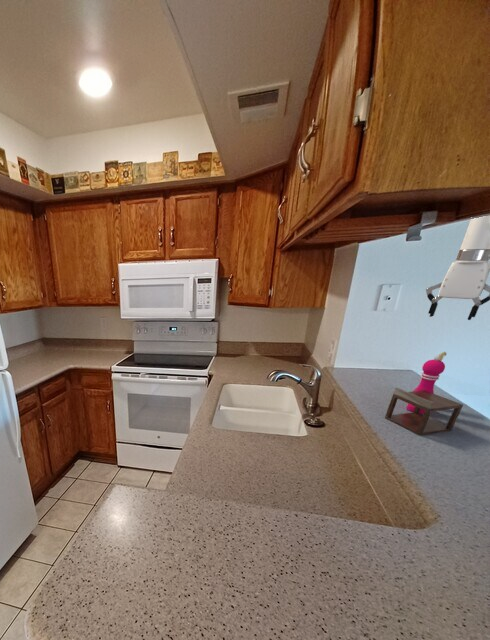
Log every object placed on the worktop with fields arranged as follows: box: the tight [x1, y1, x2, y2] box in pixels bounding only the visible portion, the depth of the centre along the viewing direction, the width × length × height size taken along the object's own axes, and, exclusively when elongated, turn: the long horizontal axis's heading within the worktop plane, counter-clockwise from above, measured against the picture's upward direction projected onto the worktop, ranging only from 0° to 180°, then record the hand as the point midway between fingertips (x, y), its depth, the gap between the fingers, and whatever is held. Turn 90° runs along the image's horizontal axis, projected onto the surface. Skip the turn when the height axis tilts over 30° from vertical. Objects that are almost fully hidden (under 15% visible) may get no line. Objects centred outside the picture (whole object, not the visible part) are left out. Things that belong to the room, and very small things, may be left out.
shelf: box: [384, 387, 464, 436], centre depth 106 cm, size 13×13×11 cm
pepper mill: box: [406, 354, 446, 415], centre depth 114 cm, size 7×7×20 cm
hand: (449, 317), depth 104 cm, fingers open, 9 cm apart
